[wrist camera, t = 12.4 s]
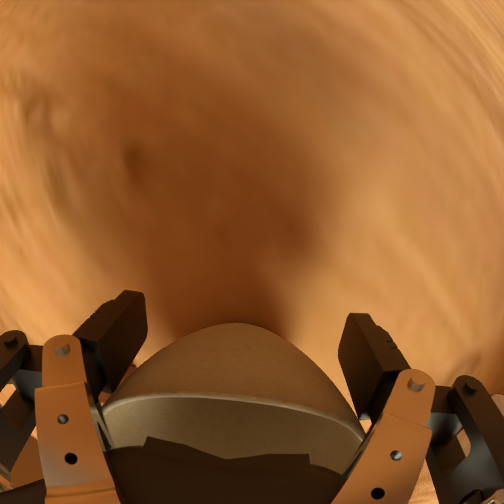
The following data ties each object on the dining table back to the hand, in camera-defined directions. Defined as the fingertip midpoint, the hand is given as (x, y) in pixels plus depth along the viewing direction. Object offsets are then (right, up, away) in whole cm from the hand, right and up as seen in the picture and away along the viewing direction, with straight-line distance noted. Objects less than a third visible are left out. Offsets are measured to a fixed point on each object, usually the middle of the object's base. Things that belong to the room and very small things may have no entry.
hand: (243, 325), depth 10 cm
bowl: (0, -3, +4) cm, 5 cm away
